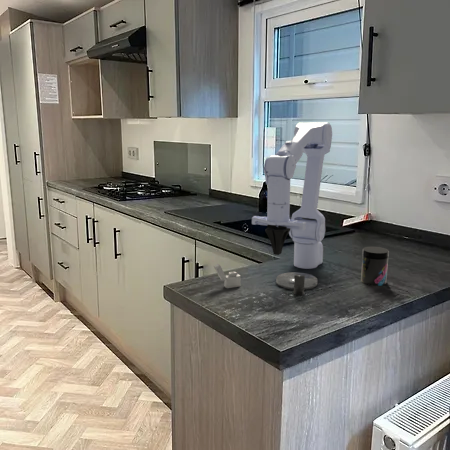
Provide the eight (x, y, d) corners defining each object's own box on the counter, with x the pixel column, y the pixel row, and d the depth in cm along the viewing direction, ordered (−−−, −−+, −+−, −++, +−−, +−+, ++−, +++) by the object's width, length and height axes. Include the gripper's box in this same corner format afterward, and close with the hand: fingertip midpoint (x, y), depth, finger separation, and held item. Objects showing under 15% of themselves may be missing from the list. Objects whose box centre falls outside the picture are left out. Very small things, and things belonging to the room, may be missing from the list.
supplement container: (370, 292, 122) (373, 254, 120) (355, 283, 128) (357, 247, 126) (391, 288, 124) (394, 251, 122) (375, 281, 130) (378, 245, 128)
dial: (275, 275, 131) (276, 259, 130) (314, 276, 130) (315, 260, 129) (277, 294, 116) (277, 276, 115) (321, 296, 115) (322, 277, 114)
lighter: (238, 289, 124) (238, 260, 123) (240, 291, 123) (241, 262, 121) (213, 292, 122) (213, 263, 120) (216, 294, 120) (215, 265, 119)
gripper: (246, 202, 118) (245, 253, 121) (298, 207, 111) (296, 261, 114) (259, 198, 124) (258, 247, 127) (309, 203, 116) (307, 254, 119)
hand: (277, 253), depth 121 cm, fingers closed
